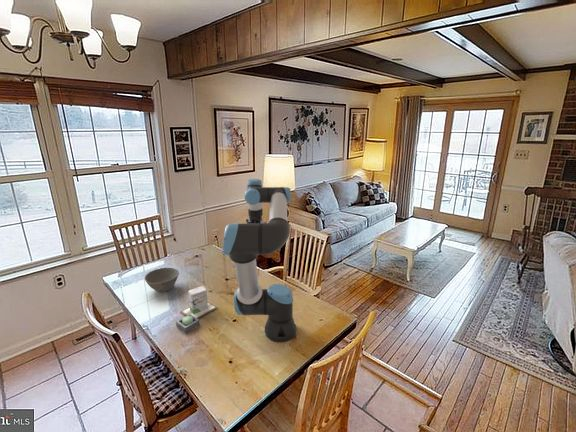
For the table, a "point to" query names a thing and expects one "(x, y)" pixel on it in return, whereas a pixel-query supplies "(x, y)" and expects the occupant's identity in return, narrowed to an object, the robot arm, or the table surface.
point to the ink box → (198, 299)
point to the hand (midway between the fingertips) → (256, 249)
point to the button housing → (188, 327)
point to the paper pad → (201, 313)
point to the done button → (187, 320)
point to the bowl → (162, 278)
